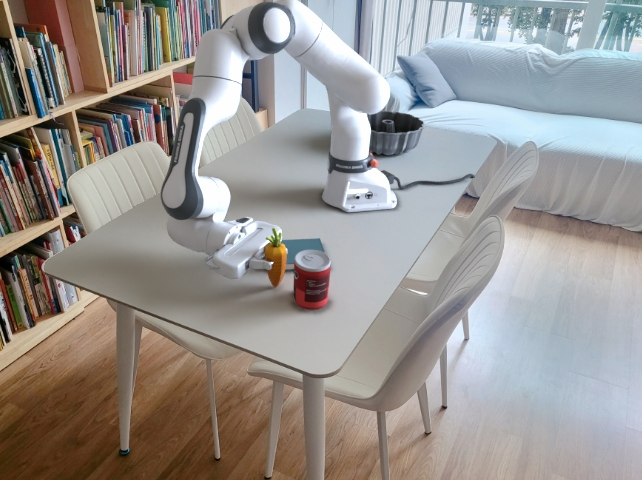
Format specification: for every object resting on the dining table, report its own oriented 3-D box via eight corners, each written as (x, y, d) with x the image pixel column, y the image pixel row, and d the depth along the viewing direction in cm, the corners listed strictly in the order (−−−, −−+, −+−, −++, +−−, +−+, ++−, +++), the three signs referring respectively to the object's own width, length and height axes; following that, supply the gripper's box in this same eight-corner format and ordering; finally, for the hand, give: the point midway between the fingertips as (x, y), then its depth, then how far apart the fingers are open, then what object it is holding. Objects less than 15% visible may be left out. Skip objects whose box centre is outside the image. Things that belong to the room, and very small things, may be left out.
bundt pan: (334, 145, 195) (336, 119, 190) (379, 130, 210) (382, 105, 204) (390, 167, 180) (394, 139, 174) (434, 149, 194) (439, 122, 189)
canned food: (304, 285, 121) (306, 245, 115) (334, 298, 117) (338, 257, 111) (286, 302, 116) (286, 260, 110) (316, 315, 112) (318, 273, 106)
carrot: (283, 294, 118) (284, 237, 110) (262, 291, 119) (261, 235, 110) (288, 282, 122) (289, 226, 114) (267, 279, 123) (267, 223, 114)
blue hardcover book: (319, 245, 136) (320, 238, 135) (327, 268, 127) (327, 261, 126) (266, 247, 135) (266, 240, 133) (269, 271, 126) (269, 264, 124)
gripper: (199, 251, 112) (253, 269, 106) (250, 213, 127) (301, 227, 121) (201, 275, 115) (254, 294, 110) (251, 235, 130) (300, 250, 125)
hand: (279, 259), depth 116 cm, fingers closed on carrot, 5 cm apart
